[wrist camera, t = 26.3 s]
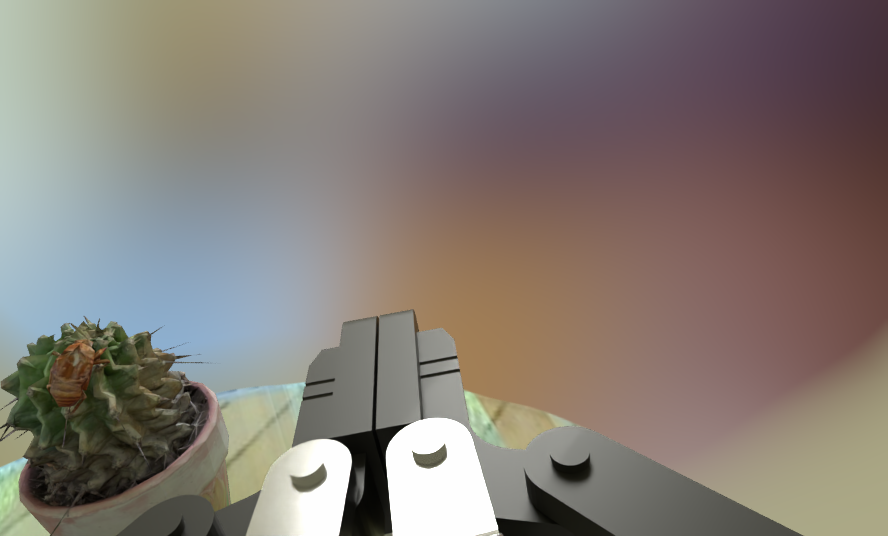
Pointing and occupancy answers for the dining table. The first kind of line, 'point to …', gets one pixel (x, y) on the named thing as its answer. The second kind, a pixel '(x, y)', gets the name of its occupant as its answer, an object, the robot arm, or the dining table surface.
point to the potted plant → (112, 431)
